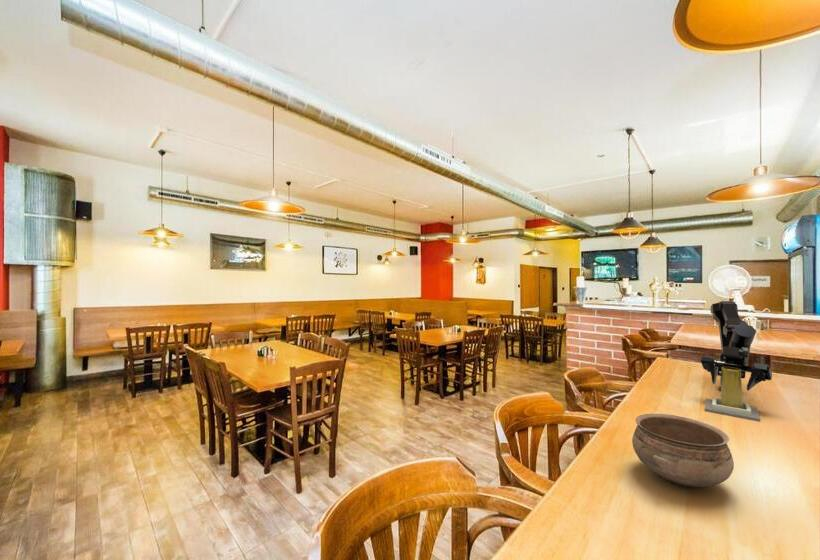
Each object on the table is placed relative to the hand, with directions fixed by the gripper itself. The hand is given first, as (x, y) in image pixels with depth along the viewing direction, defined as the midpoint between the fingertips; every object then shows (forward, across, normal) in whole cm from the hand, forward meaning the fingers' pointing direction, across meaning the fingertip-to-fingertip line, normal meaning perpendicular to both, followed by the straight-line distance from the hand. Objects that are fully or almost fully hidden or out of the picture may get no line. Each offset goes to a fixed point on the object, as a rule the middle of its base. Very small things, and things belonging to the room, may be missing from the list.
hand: (730, 386), depth 125 cm
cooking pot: (+53, +5, -40) cm, 66 cm away
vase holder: (+6, 0, +7) cm, 9 cm away
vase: (+5, 0, +6) cm, 8 cm away
